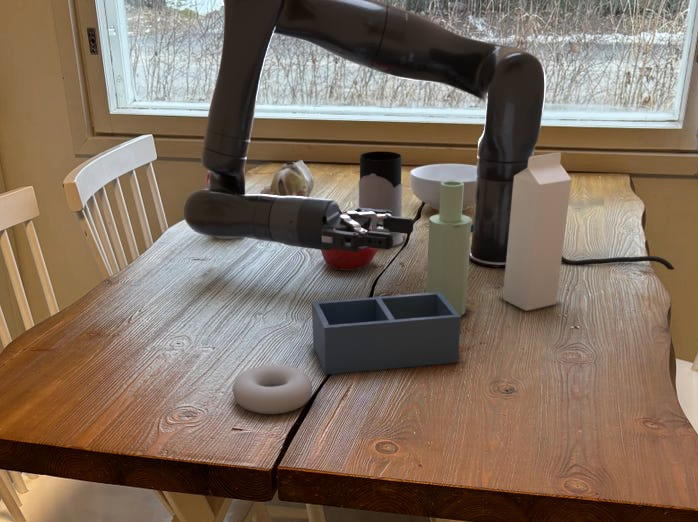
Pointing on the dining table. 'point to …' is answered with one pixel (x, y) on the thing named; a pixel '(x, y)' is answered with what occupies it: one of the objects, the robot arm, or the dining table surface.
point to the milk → (536, 233)
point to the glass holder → (381, 184)
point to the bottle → (449, 247)
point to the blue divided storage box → (385, 332)
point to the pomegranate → (348, 257)
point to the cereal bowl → (432, 176)
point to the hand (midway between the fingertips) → (402, 233)
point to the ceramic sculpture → (291, 181)
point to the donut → (272, 389)
